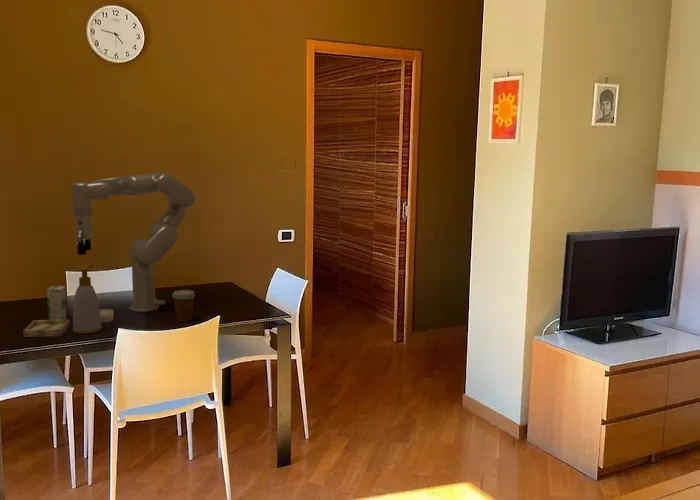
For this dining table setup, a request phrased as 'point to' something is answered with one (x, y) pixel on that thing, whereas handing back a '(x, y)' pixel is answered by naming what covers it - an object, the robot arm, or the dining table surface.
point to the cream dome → (106, 315)
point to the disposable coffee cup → (184, 304)
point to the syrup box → (56, 303)
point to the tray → (46, 328)
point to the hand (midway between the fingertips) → (84, 252)
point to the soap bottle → (86, 306)
